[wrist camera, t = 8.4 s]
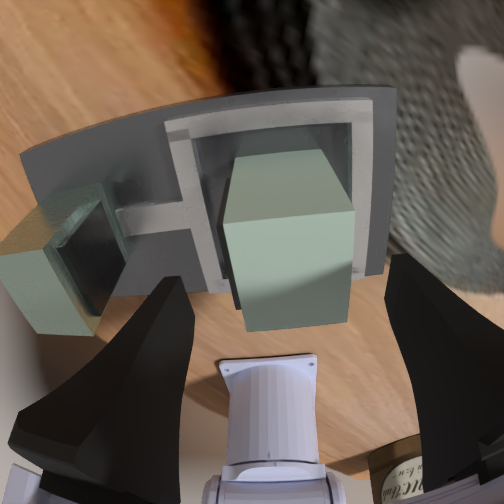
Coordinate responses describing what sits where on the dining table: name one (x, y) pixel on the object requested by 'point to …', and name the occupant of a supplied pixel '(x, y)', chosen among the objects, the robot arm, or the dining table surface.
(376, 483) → the wooden container
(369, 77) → the dining table surface
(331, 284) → the block
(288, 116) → the rail
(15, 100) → the dining table surface
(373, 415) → the dining table surface
